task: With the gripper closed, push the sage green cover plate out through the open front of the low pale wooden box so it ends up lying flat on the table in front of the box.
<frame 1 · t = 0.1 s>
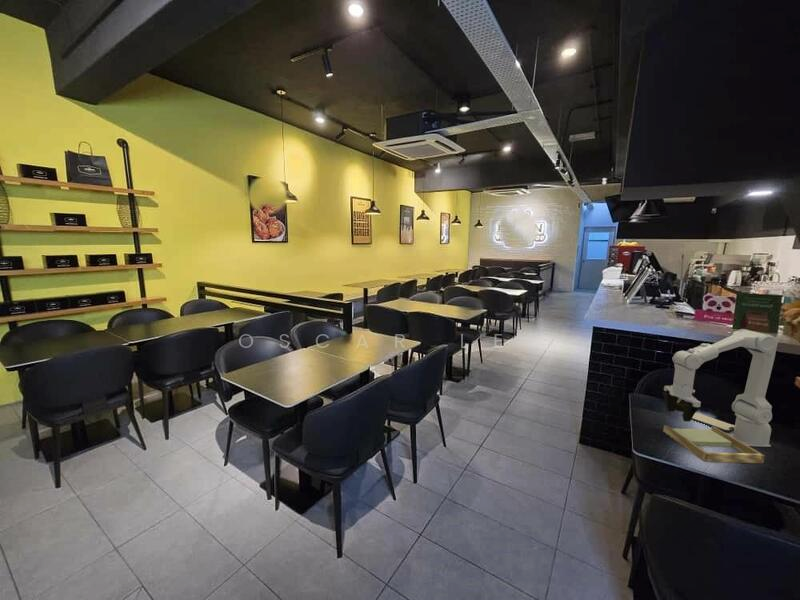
hand: (678, 415, 126), 10 cm above the table, tool pointing down, fingers open, 7 cm apart
cover plate: (698, 441, 128), resting in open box
coffee mug: (677, 407, 155), on the table
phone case: (707, 423, 141), on the table
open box: (709, 446, 123), on the table
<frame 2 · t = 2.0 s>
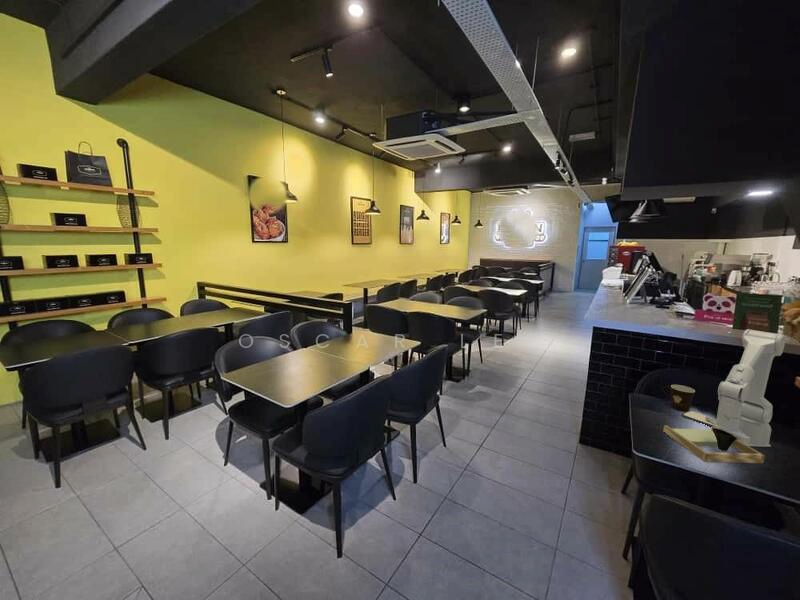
hand: (722, 449, 118), 2 cm above the table, tool pointing down, fingers closed
nothing on the table moved.
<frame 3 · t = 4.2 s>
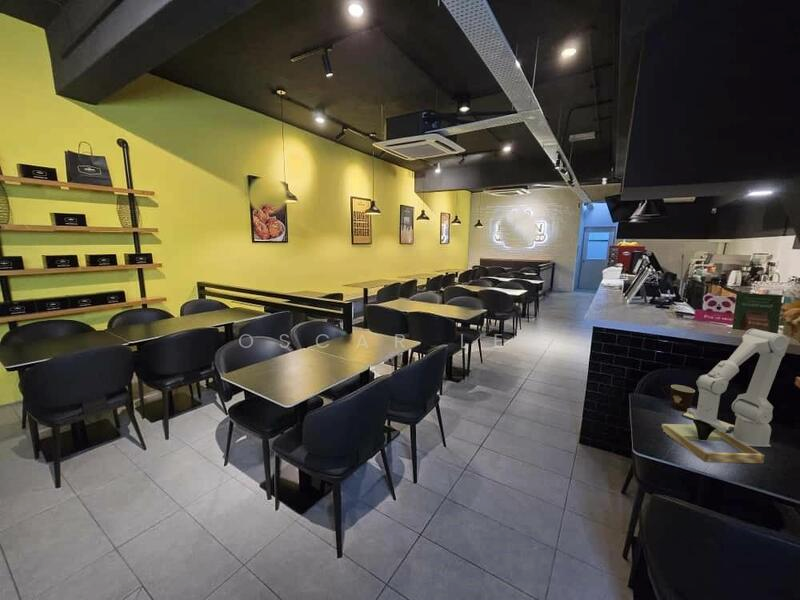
hand: (702, 439, 126), 1 cm above the table, tool pointing down, fingers closed
cover plate: (689, 435, 132), resting in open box
everything else where it was.
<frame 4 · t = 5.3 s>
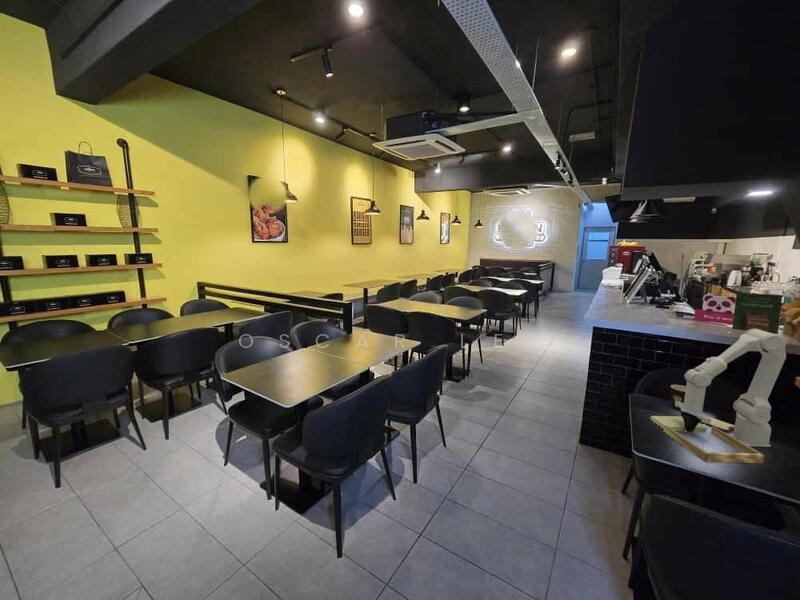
hand: (689, 430, 132), 1 cm above the table, tool pointing down, fingers closed
cover plate: (677, 427, 138), on the table, touching gripper
everything else where it was.
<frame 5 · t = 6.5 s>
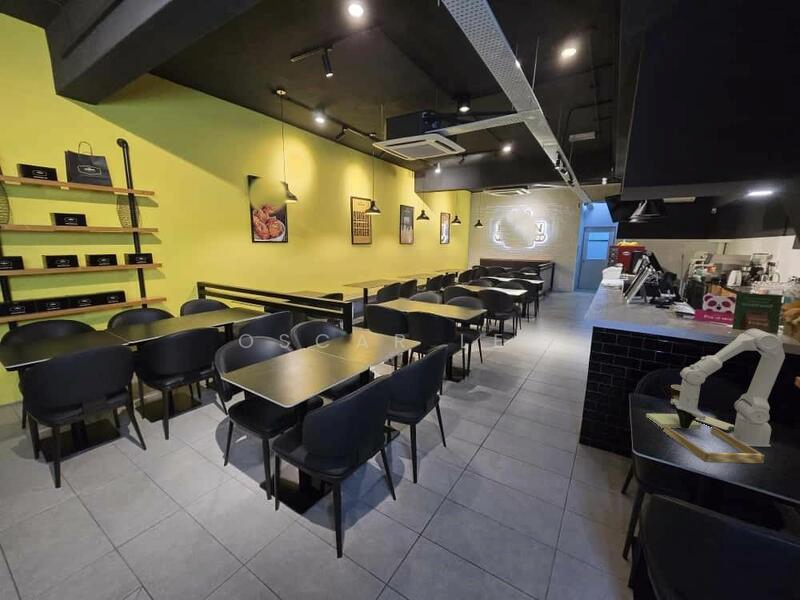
hand: (684, 427, 135), 1 cm above the table, tool pointing down, fingers closed
cover plate: (672, 424, 140), on the table
everything else where it was.
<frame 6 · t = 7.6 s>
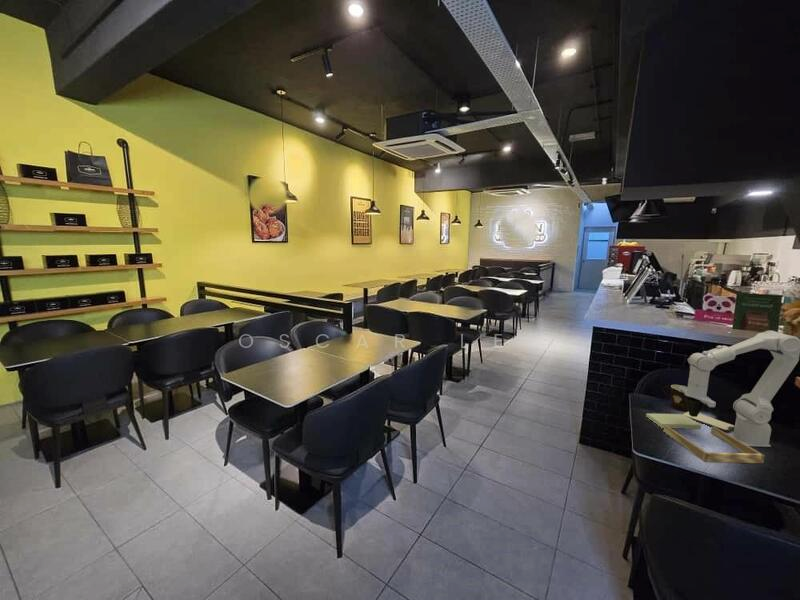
hand: (693, 415, 131), 8 cm above the table, tool pointing down, fingers closed
nothing on the table moved.
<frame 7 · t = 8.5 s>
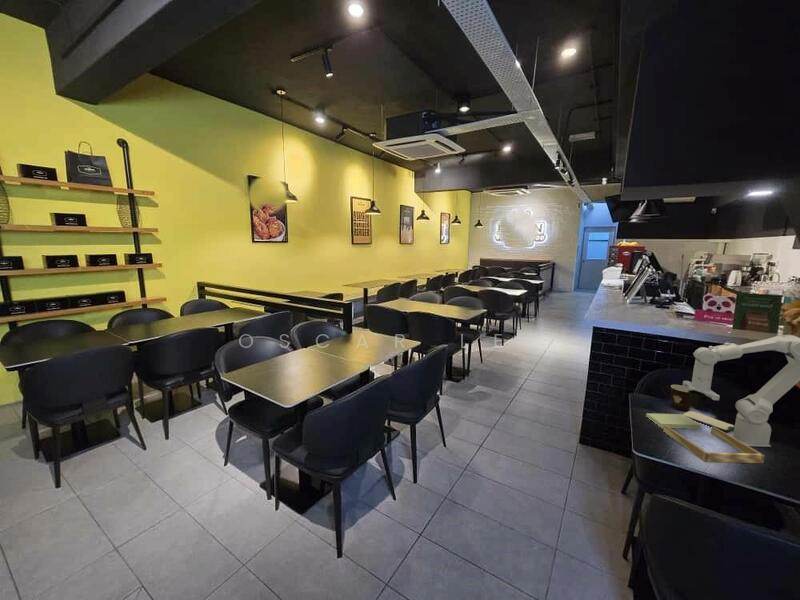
hand: (697, 409, 133), 9 cm above the table, tool pointing down, fingers closed
nothing on the table moved.
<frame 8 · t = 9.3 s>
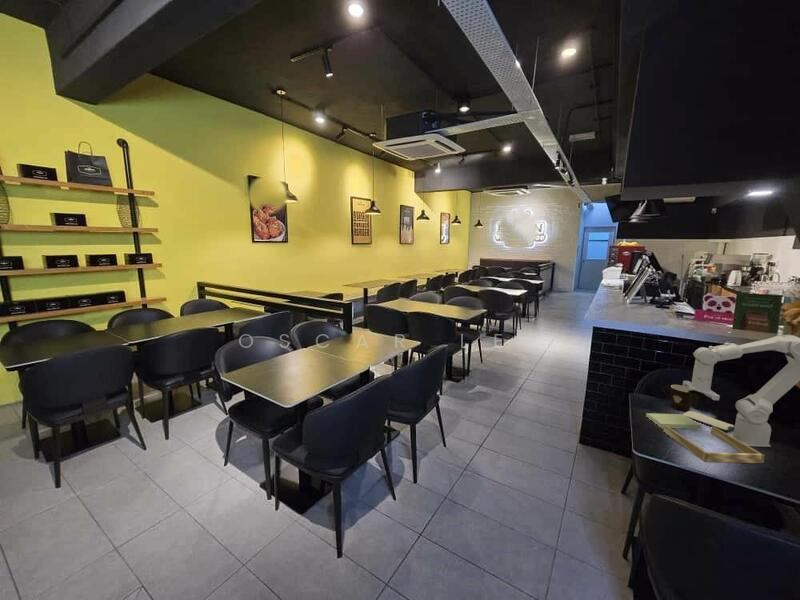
hand: (697, 409, 133), 9 cm above the table, tool pointing down, fingers closed
nothing on the table moved.
at the end: cover plate inside the target area (3.0 cm from its centre), on the table; cover plate touching table; cover plate tilted 0° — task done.
